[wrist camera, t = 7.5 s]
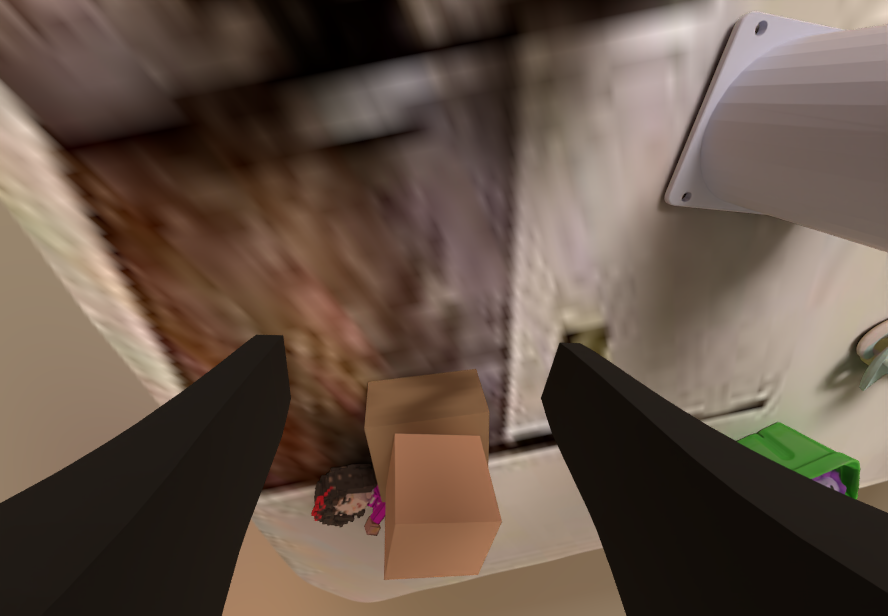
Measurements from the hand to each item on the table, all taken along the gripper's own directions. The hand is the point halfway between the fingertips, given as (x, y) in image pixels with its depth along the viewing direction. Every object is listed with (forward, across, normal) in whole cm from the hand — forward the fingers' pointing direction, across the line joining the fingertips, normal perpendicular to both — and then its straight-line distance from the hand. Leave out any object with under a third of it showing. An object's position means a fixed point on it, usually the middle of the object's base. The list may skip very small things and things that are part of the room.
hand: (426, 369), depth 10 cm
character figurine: (+11, 0, +20) cm, 22 cm away
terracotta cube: (+7, -2, +13) cm, 15 cm away
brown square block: (+11, -2, +13) cm, 17 cm away
